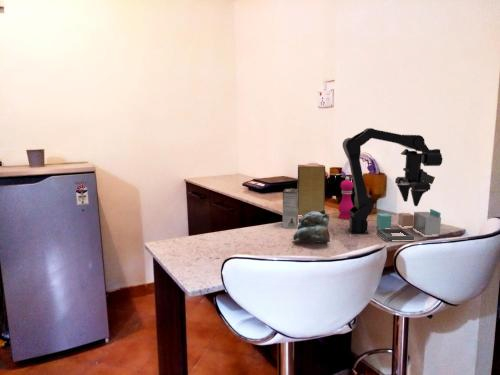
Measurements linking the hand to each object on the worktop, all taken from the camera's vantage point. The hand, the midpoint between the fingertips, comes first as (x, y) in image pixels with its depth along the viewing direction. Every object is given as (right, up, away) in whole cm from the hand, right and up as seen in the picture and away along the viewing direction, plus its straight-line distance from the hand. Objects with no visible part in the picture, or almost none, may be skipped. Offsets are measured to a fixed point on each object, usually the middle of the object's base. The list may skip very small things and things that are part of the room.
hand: (410, 203), depth 150 cm
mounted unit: (+6, -12, -1) cm, 14 cm away
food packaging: (-36, -7, +33) cm, 49 cm away
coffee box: (-48, -11, +13) cm, 51 cm away
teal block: (-8, -11, +8) cm, 16 cm away
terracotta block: (+2, -11, +9) cm, 14 cm away
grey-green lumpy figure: (-43, -14, -11) cm, 47 cm away
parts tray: (-9, -13, -6) cm, 17 cm away
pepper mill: (-20, -8, +26) cm, 34 cm away
